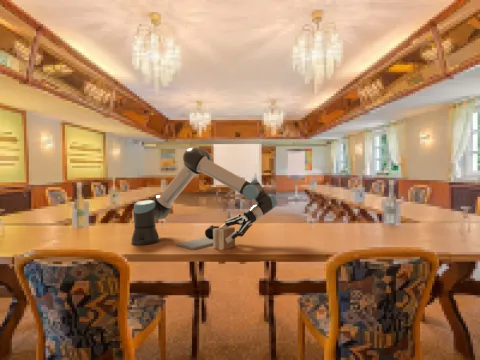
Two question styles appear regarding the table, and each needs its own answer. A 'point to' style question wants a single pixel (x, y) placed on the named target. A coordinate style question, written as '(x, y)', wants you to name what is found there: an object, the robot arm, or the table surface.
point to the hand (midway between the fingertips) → (221, 236)
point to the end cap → (210, 231)
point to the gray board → (197, 243)
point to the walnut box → (223, 237)
